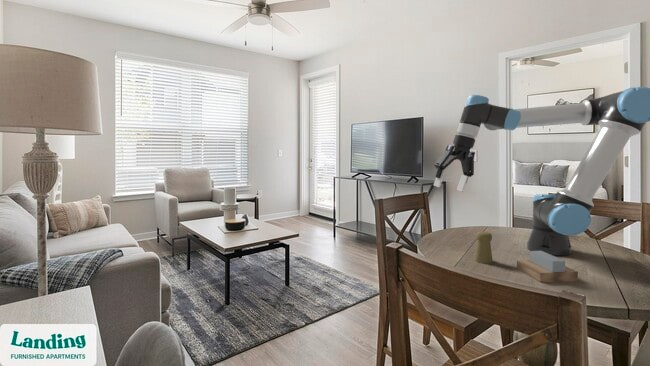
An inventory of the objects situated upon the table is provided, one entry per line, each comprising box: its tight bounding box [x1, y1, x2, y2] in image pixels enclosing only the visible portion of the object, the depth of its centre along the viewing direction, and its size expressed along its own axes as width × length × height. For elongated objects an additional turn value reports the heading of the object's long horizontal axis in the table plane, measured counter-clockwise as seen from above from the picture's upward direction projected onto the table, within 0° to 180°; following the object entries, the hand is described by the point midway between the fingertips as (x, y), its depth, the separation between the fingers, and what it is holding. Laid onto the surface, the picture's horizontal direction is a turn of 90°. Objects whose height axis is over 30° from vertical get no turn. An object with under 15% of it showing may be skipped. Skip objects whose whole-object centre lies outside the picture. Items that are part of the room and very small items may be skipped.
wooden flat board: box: [516, 259, 579, 283], centre depth 109 cm, size 12×12×4 cm
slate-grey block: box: [529, 250, 566, 272], centre depth 109 cm, size 4×11×4 cm, turn 2°
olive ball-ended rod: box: [474, 231, 494, 265], centre depth 123 cm, size 6×6×11 cm
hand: (448, 188), depth 130 cm, fingers open, 13 cm apart
